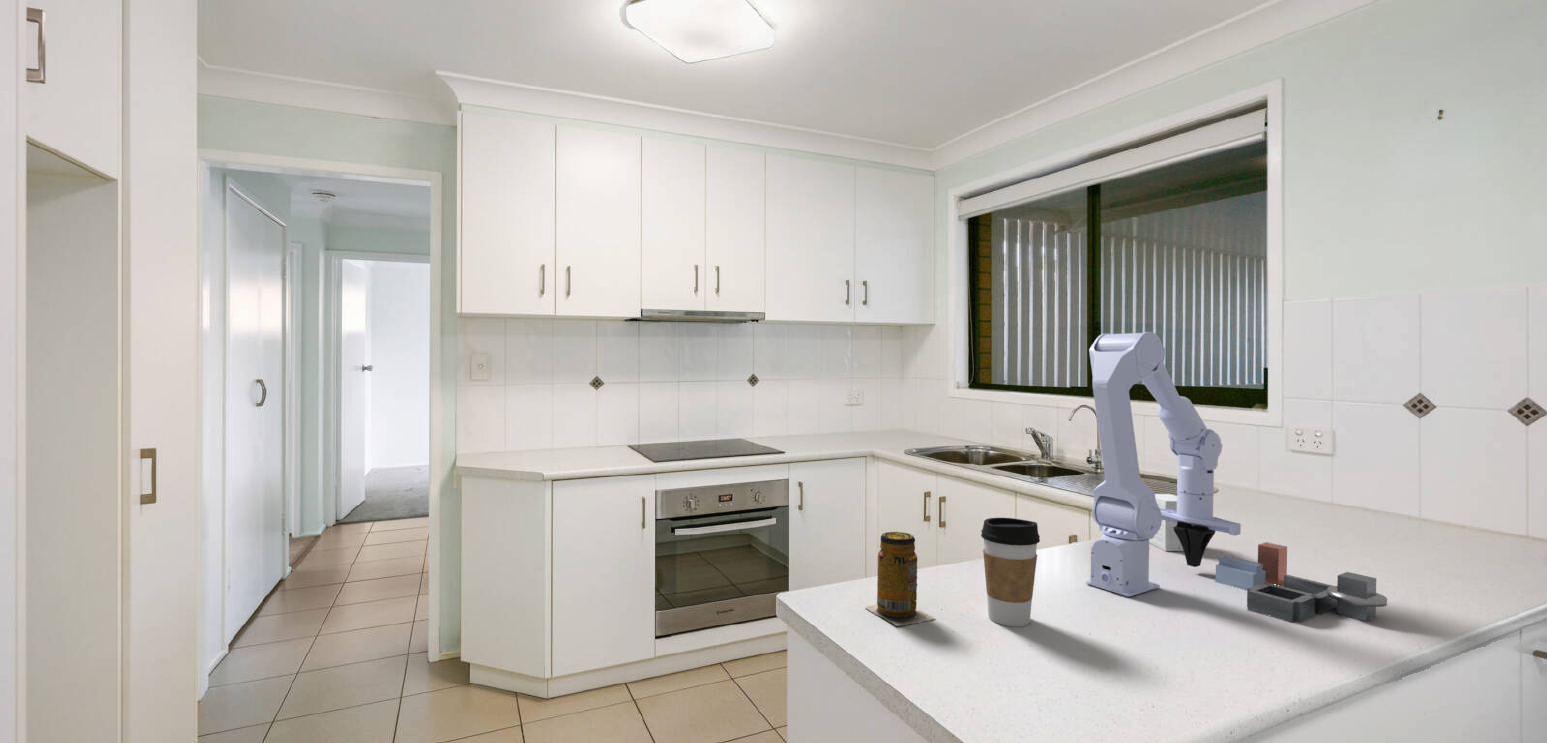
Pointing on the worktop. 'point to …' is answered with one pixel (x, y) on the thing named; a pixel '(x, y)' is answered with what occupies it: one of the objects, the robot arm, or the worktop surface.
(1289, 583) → the grey socket with disc
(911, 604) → the condiment
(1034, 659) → the worktop surface
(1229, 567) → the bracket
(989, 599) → the coffee cup
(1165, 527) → the small box
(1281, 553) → the reddish brown rectangular block
